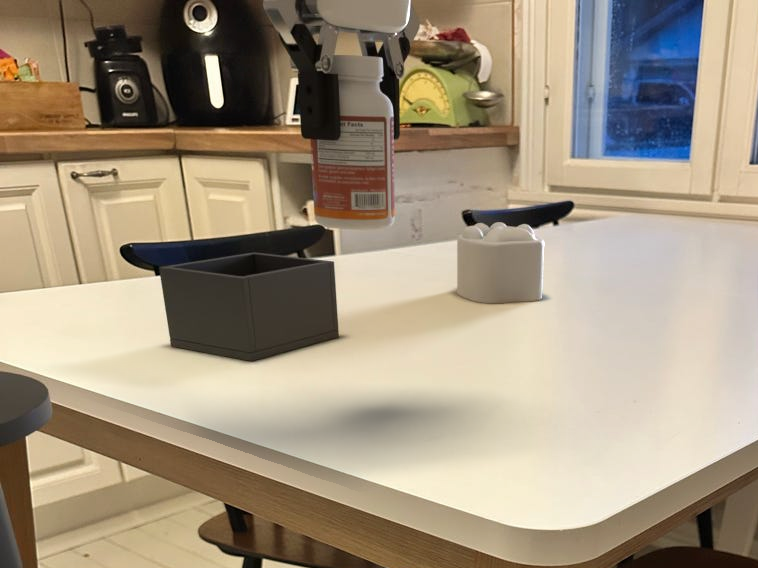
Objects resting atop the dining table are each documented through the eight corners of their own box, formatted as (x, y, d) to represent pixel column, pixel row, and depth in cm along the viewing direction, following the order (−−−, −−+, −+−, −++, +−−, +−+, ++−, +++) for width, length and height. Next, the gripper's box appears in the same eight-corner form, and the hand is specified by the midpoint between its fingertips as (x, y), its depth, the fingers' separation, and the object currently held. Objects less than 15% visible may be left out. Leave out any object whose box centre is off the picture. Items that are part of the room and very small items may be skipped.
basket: (251, 361, 91) (242, 278, 87) (170, 346, 97) (158, 267, 93) (339, 336, 101) (334, 261, 97) (261, 324, 107) (254, 252, 103)
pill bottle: (340, 219, 74) (334, 57, 69) (408, 225, 72) (408, 59, 67) (298, 226, 69) (288, 52, 64) (370, 232, 67) (367, 54, 62)
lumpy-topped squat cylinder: (479, 304, 119) (480, 231, 114) (443, 288, 129) (443, 220, 125) (551, 299, 122) (554, 228, 118) (510, 284, 133) (512, 218, 128)
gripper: (378, -145, 67) (383, 136, 76) (197, -210, 54) (229, 137, 63) (464, -155, 63) (458, 141, 73) (293, -227, 51) (312, 143, 60)
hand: (351, 136), depth 68 cm, fingers closed on pill bottle, 6 cm apart
